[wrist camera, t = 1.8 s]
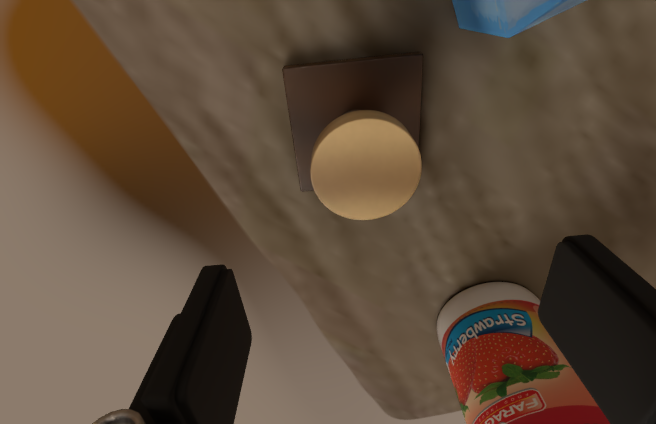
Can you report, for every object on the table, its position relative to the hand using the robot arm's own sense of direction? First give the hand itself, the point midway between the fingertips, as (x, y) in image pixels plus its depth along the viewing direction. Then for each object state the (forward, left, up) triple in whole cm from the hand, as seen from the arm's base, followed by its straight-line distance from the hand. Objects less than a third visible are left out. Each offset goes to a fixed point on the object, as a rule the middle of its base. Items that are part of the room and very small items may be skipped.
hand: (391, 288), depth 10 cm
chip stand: (0, 0, -15) cm, 15 cm away
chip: (0, 0, -9) cm, 9 cm away
